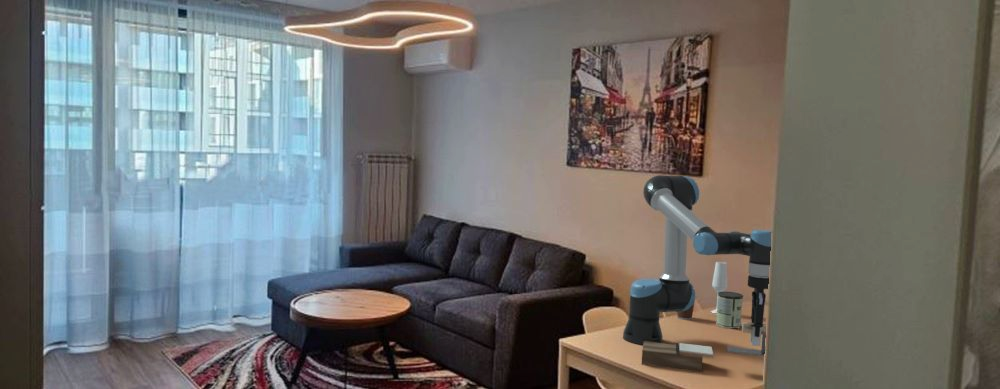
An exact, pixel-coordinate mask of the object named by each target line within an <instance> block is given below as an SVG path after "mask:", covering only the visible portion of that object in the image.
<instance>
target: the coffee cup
mask: <svg viewBox="0 0 1000 389" xmlns="http://www.w3.org/2000/svg"><path fill="white" fill-rule="evenodd" d="M696 299H697V296H696V295H695V300H696ZM695 300H694V303H693V305H692V306H691V307H690V308H689V309H688V310H685V311H680V312H676V317H677V318H678V319H679V320H686V321H691V320H692V318H693V315H694V314H693V313H694V307H695Z"/></svg>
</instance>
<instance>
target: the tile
mask: <svg viewBox="0 0 1000 389" xmlns="http://www.w3.org/2000/svg"><path fill="white" fill-rule="evenodd" d="M678 345H679V353H680V354H688V355H696V356H702V357H704V358H714V351H713V348H712V346H708V345H700V344H693V343H692V344H691V343H682V342H679V343H678Z"/></svg>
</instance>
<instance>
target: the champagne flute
mask: <svg viewBox="0 0 1000 389" xmlns="http://www.w3.org/2000/svg"><path fill="white" fill-rule="evenodd" d="M727 265H728V264H727V262H726V261H716V262H715V265H714V266H715V267H714V270H713V271H714V272H713V276H712V283H711V286H712V288H713V290H714V291H715V292H716V293H718V292H725V290H726V289H727V288H728V269H727V268H728V267H727ZM717 306H718V295H717V297H716V307H717ZM710 312H712V313H717V308H715V309H713V310H711V311H710ZM712 313H711V314H712Z"/></svg>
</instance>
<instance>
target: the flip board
mask: <svg viewBox="0 0 1000 389" xmlns="http://www.w3.org/2000/svg"><path fill="white" fill-rule="evenodd" d="M641 352H642V353H641V365H643V364H645V366H651V367H652V366H653V367H658V368H660V367H661V368H668V369H675V370H676V369H677V370H683V371H691V372H697V373H698V372H699V373H700V372H701V373H702V370H703V357H704V356H696V355H688V354H680V353H679V343H675V344H674V343H673V344H671V343H664V342H662V343H657V342H648V341H644V343H643V344H642V351H641Z"/></svg>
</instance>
